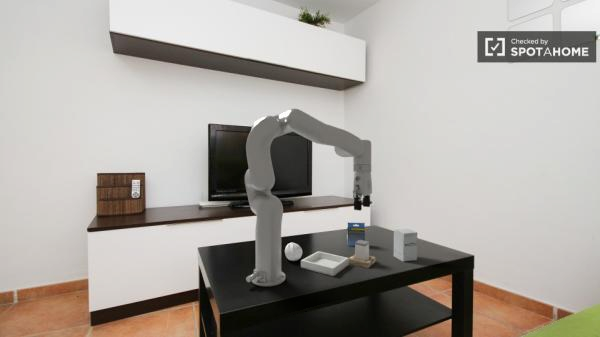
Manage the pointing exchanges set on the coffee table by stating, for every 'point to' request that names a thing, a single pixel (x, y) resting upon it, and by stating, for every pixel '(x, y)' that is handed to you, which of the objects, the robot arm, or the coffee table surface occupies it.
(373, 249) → the coffee table surface
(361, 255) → the grey white rectangular block
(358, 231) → the label tape cartridge
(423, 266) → the coffee table surface
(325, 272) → the parts tray
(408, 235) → the supplement box
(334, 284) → the coffee table surface
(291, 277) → the coffee table surface
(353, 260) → the tan wooden flat frame
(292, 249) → the white grooved ball
